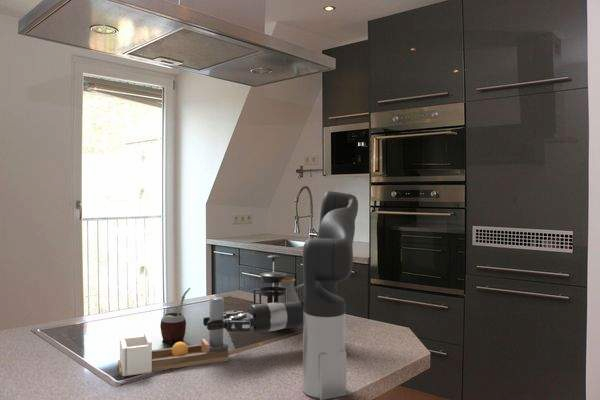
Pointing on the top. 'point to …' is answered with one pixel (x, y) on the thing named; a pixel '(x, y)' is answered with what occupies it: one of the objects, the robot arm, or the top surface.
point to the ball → (179, 349)
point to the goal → (136, 355)
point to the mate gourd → (173, 326)
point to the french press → (273, 278)
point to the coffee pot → (289, 290)
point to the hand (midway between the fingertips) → (205, 323)
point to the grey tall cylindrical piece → (216, 335)
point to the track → (183, 358)
